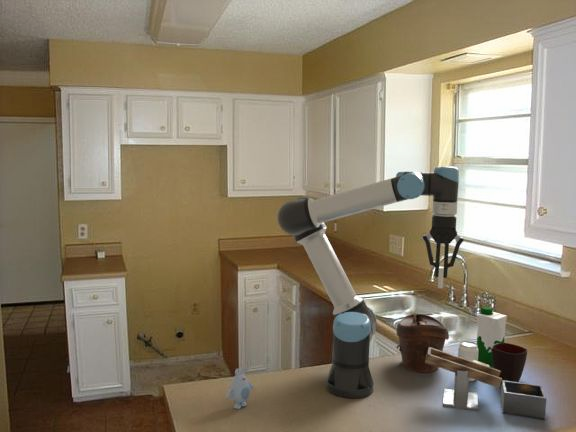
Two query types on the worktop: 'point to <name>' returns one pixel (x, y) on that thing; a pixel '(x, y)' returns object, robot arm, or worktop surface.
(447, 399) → the stand
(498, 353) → the cup
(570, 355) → the worktop surface
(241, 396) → the toy figure
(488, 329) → the milk carton
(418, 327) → the case
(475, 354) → the can
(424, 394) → the worktop surface
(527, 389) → the tin
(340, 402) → the worktop surface
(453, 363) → the lever
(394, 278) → the worktop surface
